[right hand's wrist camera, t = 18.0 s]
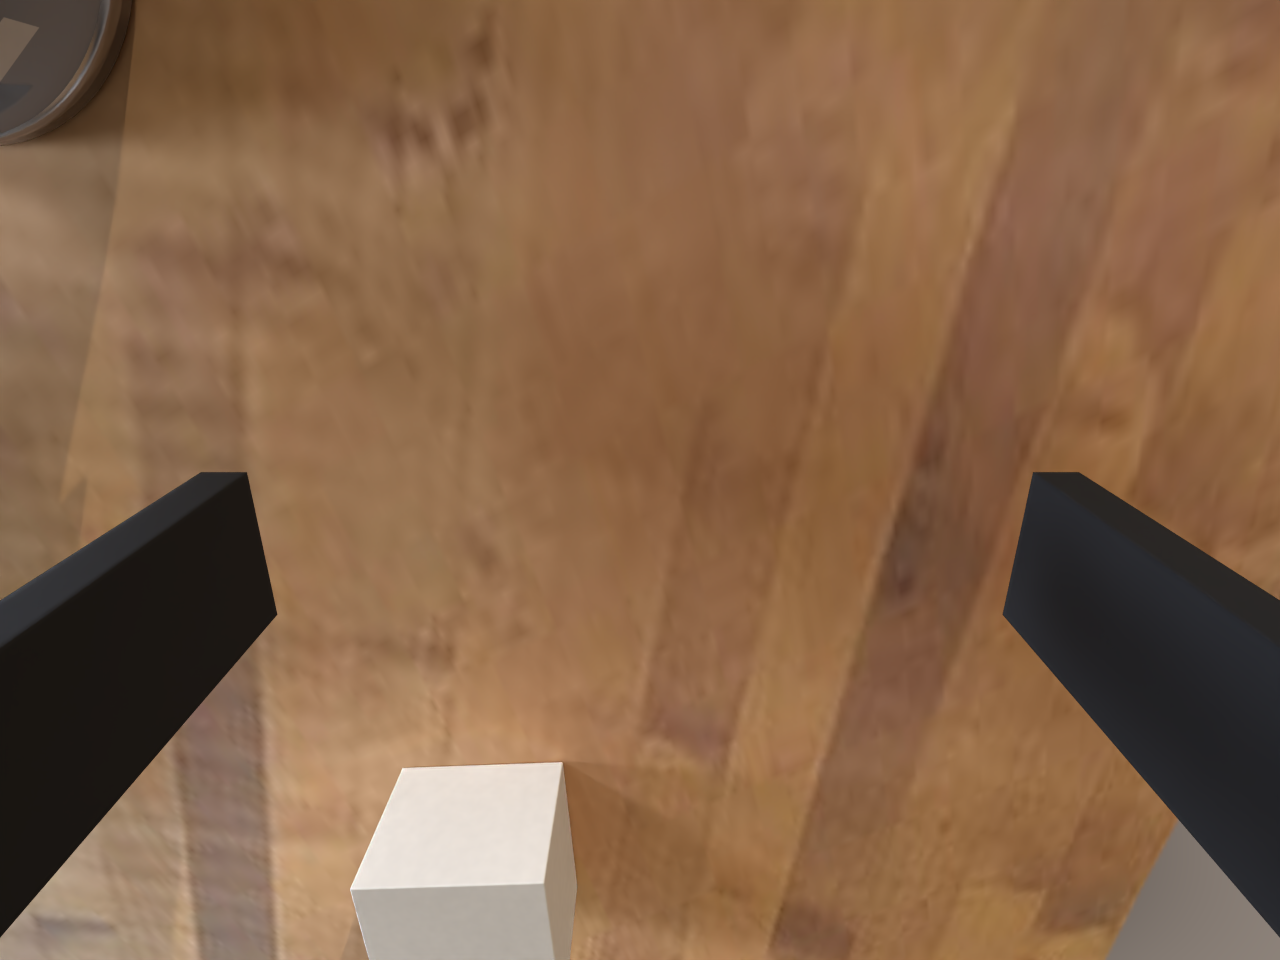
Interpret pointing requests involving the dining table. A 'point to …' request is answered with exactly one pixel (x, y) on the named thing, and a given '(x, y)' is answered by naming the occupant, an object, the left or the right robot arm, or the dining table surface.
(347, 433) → the dining table surface
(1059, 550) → the right robot arm
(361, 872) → the white cube
